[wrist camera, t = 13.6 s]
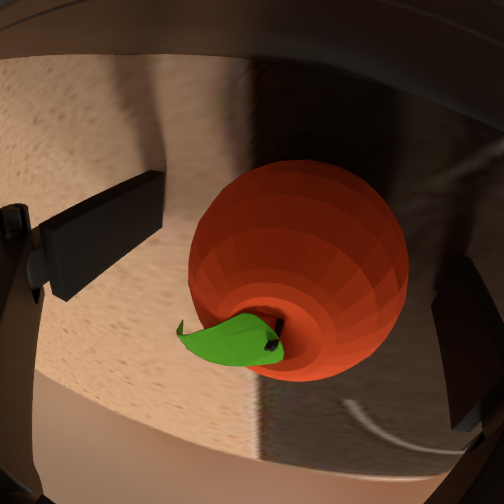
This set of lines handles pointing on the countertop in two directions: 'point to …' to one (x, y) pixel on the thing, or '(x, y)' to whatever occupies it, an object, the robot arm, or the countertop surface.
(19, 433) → the robot arm
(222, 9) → the dark drawer cabinet
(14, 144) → the countertop surface
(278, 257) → the clementine
